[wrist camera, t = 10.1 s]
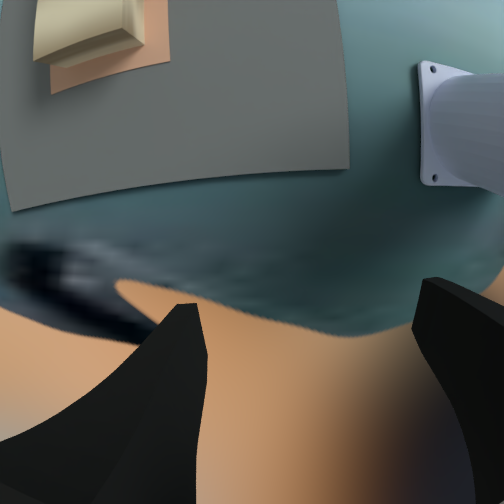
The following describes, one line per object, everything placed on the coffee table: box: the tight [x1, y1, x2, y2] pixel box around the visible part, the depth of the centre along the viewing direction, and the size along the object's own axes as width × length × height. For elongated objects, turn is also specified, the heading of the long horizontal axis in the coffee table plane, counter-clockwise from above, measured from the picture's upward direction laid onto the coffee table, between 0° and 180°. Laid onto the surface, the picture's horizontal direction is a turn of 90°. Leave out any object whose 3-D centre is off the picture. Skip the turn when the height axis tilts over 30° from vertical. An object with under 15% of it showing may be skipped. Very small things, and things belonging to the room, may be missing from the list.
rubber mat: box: [0, 0, 350, 212], centre depth 12 cm, size 22×22×1 cm
